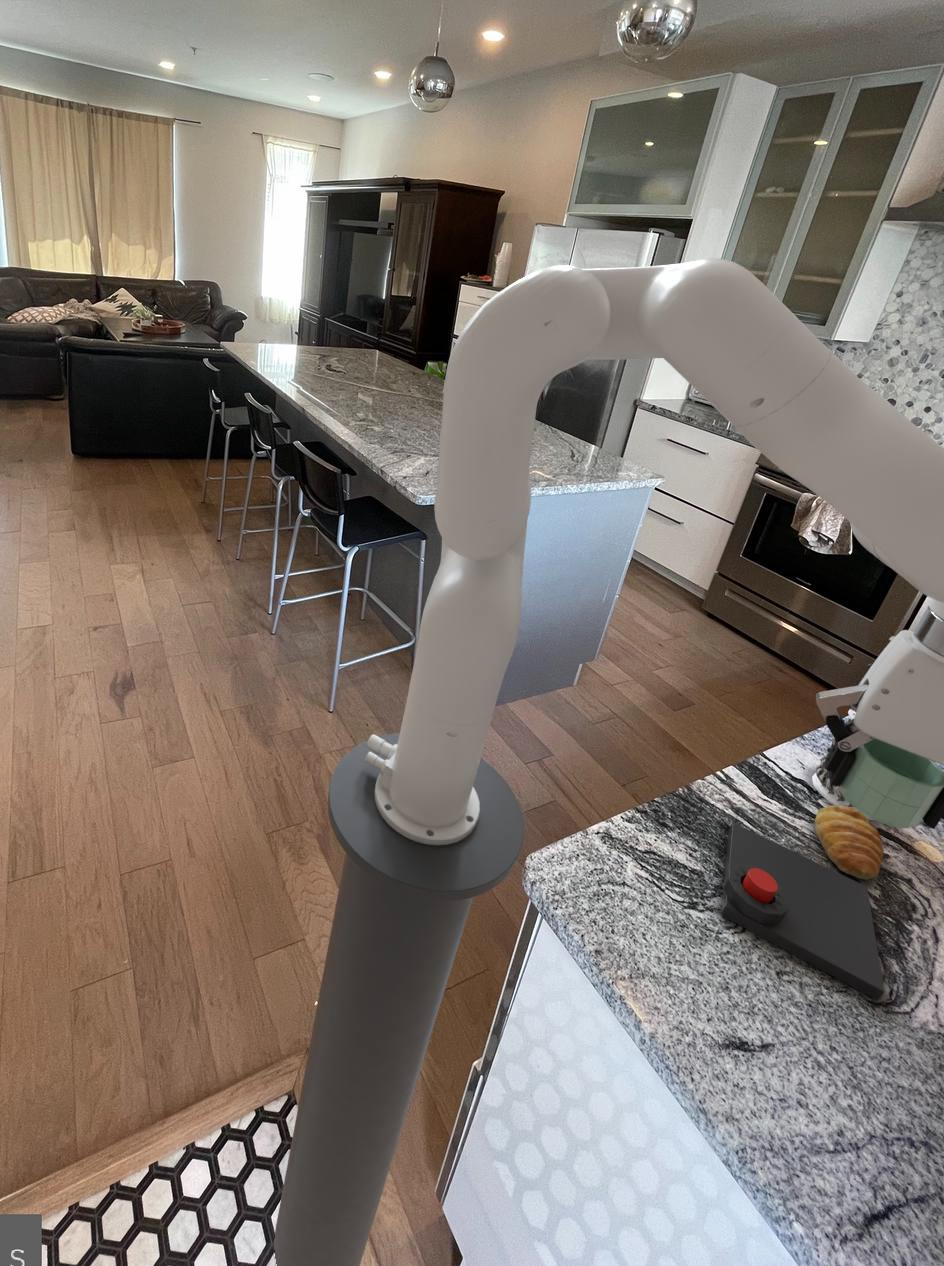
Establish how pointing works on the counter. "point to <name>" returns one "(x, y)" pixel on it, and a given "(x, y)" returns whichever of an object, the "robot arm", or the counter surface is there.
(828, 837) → the pastry
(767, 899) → the button
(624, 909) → the counter surface
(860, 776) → the bowl
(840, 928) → the scale
